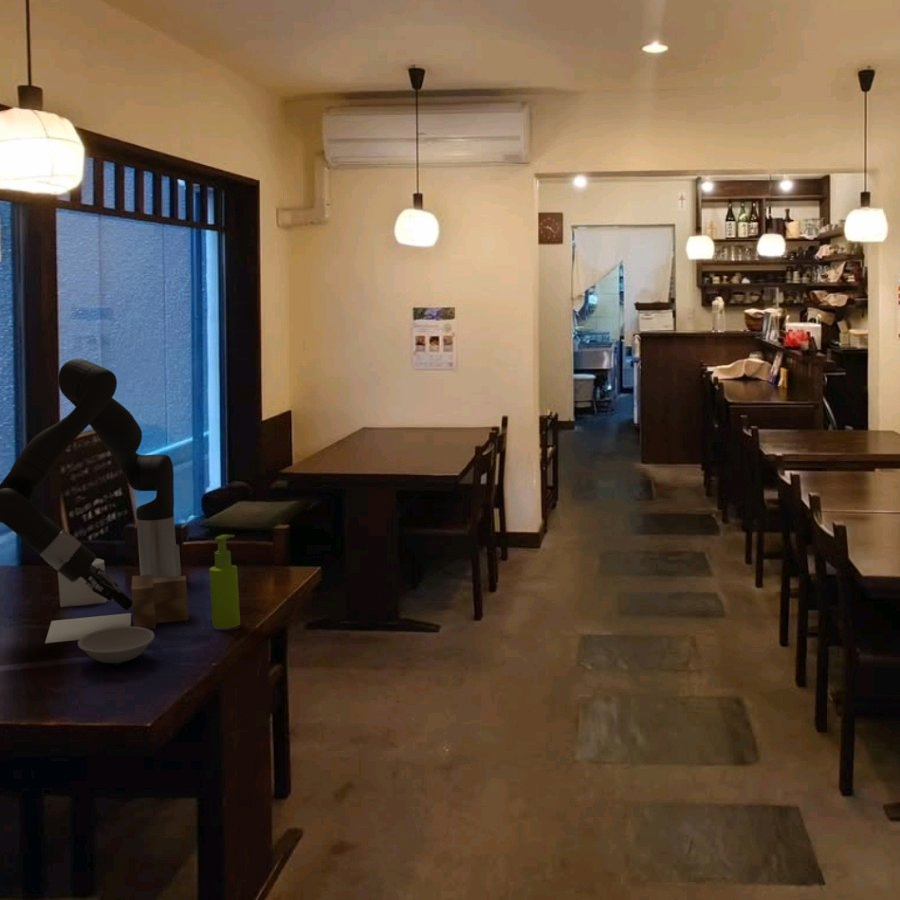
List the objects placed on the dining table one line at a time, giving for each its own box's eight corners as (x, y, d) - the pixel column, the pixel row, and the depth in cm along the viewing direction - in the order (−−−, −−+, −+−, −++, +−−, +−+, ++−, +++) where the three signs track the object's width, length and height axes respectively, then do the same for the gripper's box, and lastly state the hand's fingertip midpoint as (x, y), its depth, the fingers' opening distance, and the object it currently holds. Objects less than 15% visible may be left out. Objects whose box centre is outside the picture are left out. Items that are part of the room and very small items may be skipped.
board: (45, 647, 224) (44, 643, 223) (52, 625, 241) (51, 620, 241) (193, 632, 232) (193, 627, 232) (190, 611, 249) (189, 607, 249)
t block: (134, 630, 231) (131, 589, 230) (134, 615, 243) (132, 576, 242) (189, 625, 234) (186, 584, 233) (187, 610, 247) (184, 571, 245)
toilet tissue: (92, 610, 253) (89, 568, 252) (46, 609, 255) (42, 567, 254) (115, 598, 263) (112, 558, 262) (70, 597, 266) (67, 557, 264)
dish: (158, 671, 206) (157, 646, 205) (79, 681, 201) (77, 655, 201) (153, 646, 222) (151, 622, 222) (79, 655, 218) (77, 631, 217)
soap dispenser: (247, 622, 238) (242, 533, 236) (231, 631, 232) (226, 539, 229) (224, 620, 240) (219, 532, 238) (207, 629, 234) (202, 538, 231)
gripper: (57, 562, 237) (119, 611, 242) (52, 575, 225) (117, 627, 229) (81, 536, 238) (142, 586, 243) (78, 548, 226) (142, 600, 230)
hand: (130, 606), depth 236 cm, fingers closed
